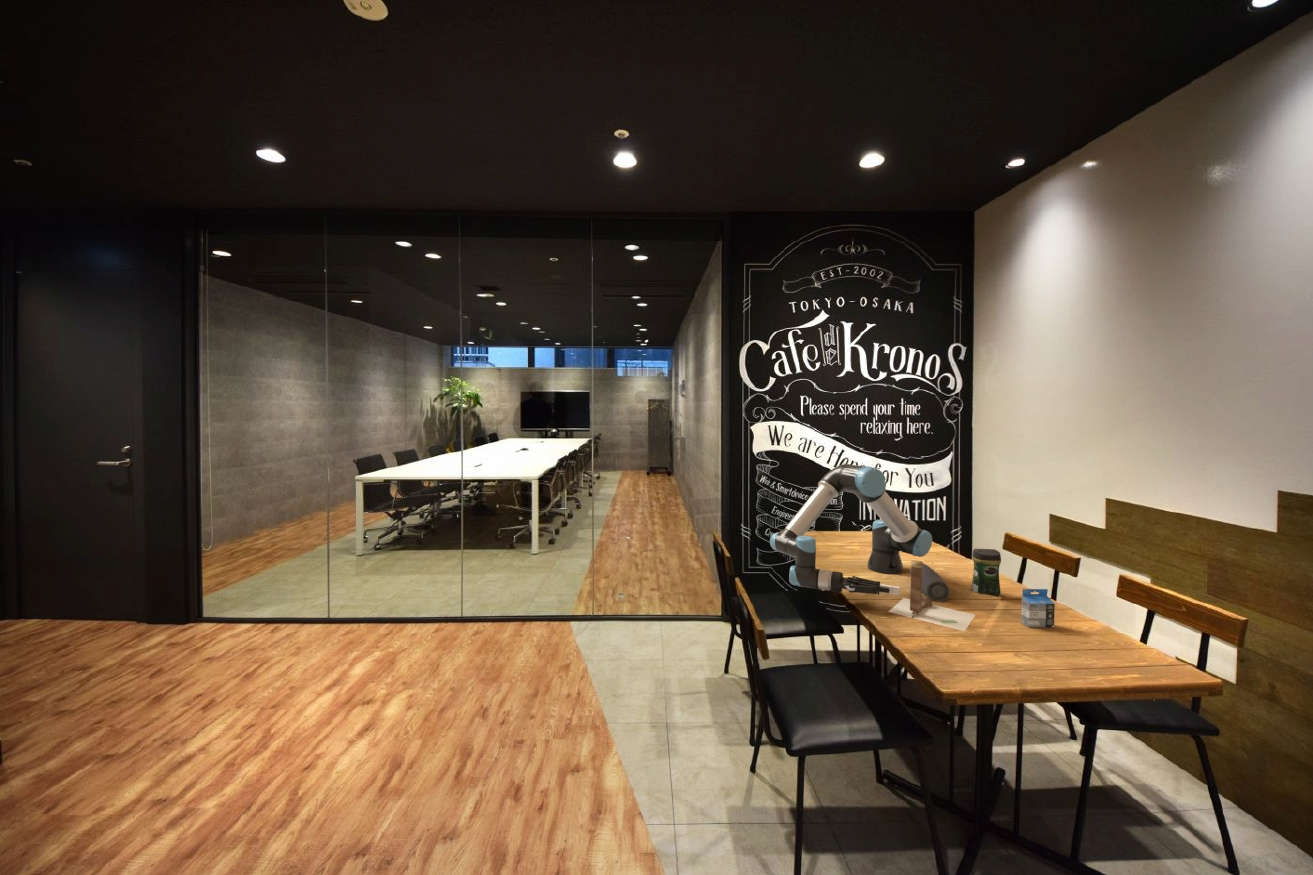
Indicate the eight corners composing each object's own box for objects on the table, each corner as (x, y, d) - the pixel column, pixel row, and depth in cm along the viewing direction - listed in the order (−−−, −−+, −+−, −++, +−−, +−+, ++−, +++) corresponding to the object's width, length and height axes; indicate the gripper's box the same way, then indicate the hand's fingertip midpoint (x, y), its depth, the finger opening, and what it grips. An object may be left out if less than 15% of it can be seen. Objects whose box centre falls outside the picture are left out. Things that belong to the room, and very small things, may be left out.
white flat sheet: (888, 615, 185) (888, 611, 185) (903, 601, 199) (903, 597, 199) (964, 635, 169) (964, 630, 169) (975, 618, 183) (975, 614, 182)
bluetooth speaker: (951, 606, 194) (952, 580, 194) (924, 604, 196) (925, 578, 196) (931, 585, 217) (932, 562, 216) (908, 584, 218) (908, 561, 218)
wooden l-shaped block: (918, 601, 194) (920, 552, 193) (933, 604, 191) (935, 554, 190) (905, 614, 182) (907, 562, 181) (920, 618, 179) (922, 565, 178)
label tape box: (1028, 628, 175) (1030, 592, 174) (1020, 623, 179) (1021, 588, 179) (1054, 628, 175) (1056, 592, 174) (1045, 623, 179) (1047, 588, 178)
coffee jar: (993, 591, 209) (995, 547, 208) (1003, 599, 202) (1005, 552, 200) (967, 590, 211) (969, 546, 210) (976, 597, 203) (978, 551, 202)
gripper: (833, 585, 202) (899, 595, 191) (828, 596, 190) (898, 607, 179) (833, 566, 201) (900, 575, 190) (828, 576, 189) (899, 586, 179)
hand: (899, 591), depth 185 cm, fingers closed
